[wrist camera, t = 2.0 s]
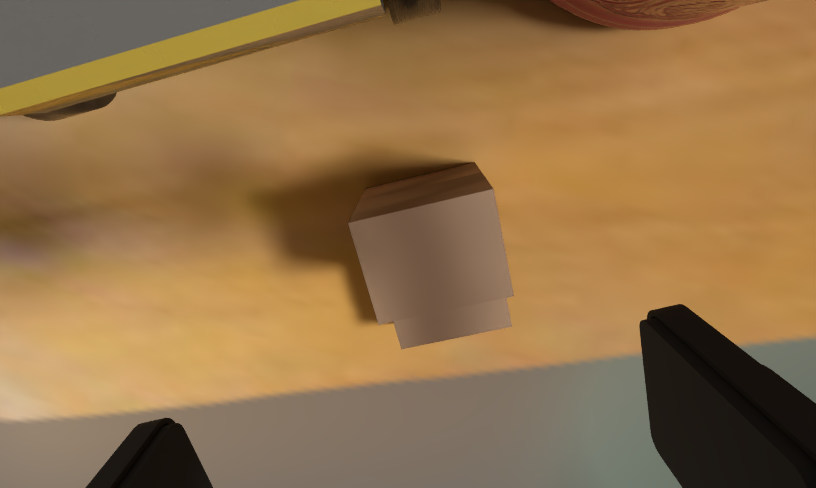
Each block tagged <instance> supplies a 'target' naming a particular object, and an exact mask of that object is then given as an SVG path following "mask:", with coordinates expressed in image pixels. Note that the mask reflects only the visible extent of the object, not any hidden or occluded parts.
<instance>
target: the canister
mask: <svg viewBox="0 0 816 488" xmlns="http://www.w3.org/2000/svg"><path fill="white" fill-rule="evenodd" d="M548 1H550V2H551V3H553V4H554V5H556V6H557V7H559V8H561V9H563V10H564V11H566V12H568V13H571V14H573V15H575V16H577V17H580V18H583V19H585V20H588V21H591V22H594V23H597V24H601V25H604V26H608V27H614V28H620V29H628V30H657V29H667V28H673V27H678V26H683V25H689V24H694V23H698V22H701V21H705V20H709V19H712V18H715V17H717V16H720V15H723V14H726V13H728V12H730V11H733V10H735V9H737V8H739V7H741V6H746V5H750V4H754V3H758V2H763V1H767V0H548Z"/></svg>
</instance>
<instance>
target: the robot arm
mask: <svg viewBox="0 0 816 488" xmlns="http://www.w3.org/2000/svg"><path fill="white" fill-rule="evenodd" d="M640 337H641V346H642V355H643V365H644V374H645V383H646V392H647V401H648V410H649V420H650V429H651V436H652V439H653V442H654V445H655V447H656V449H657V451H658V453H659V454H660V456H661V457H662V459H663V460H664V462H665V463H666V465H667V466H668V467H669V469H670V470H671V472H672V473H673V475H674V476H675V477H676V478H677V480H678V482H679V483H680V485H681V486H682V488H816V403H814V402H813V401H811V400H810V399H809V398H808V397H806V396H805V395H804V394H802V393H801V392H800V391H798V390H797V389H796V388H794V387H793V386H792V385H791V384H789V383H788V382H787V381H785V380H784V379H783V378H781V377H780V376H779V375H778V374H776V373H775V372H774V371H772V370H771V369H769V368H767V367H766V366H764V365H761V364H760V363H759V362H757V361H756V360H755V359H753V358H752V357H751V356H750V355H748V354H747V353H746V352H744V351H743V350H742V349H740V348H739V347H738V346H737V345H735V344H734V343H733V342H731V341H730V340H729V339H727V338H726V337H725V336H724V335H722V334H721V333H720V332H718V331H717V330H716V329H715V328H713V327H712V326H711V325H709V324H708V323H707V322H705V321H704V320H703V319H702V318H700V317H699V316H698V315H696V314H695V313H694V312H692V311H691V310H690V309H689V308H687V307H686V306H684V305H682V304H678V305H673V306H669V307H664V308H660V309H655V310H651V311H649V312H648V315H647V319H646V320H642V321H641V322H640ZM86 488H213V487H212V484H211V482H210V480H209V478H208V476H207V475H206V472H205V470H204V469H203V466H202V464H201V462H200V460H199V458H198V456H197V454H196V452H195V450H194V448H193V446H192V444H191V442H190V440H189V438H188V436H187V434H186V432H185V430H184V428H183V427H182V425H180V424H179V423H175V422H174V421H173V420H172V419H170V418H163V419H159V420H154V421H150V422H145V423H141V424H138V425H137V426H136V427H135V428H134V429H133V430H132V431H131V433H130V434H129V435H128V436H127V438H126V439H125V440H124V441H123V442H122V444H121V445H120V446H119V447H118V449H117V450H116V451H115V452H114V454H113V455H112V456H111V457H110V458H109V460H108V461H107V462H106V463H105V465H104V466H103V467H102V468H101V469H100V471H99V472H98V473H97V474H96V476H95V477H94V478H93V479H92V481H91V482H90V483H89V484H88V486H87V487H86Z"/></svg>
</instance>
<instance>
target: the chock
mask: <svg viewBox="0 0 816 488" xmlns="http://www.w3.org/2000/svg"><path fill="white" fill-rule="evenodd" d="M348 225H349V229H350V232H351V235H352V238H353V242H354V245H355V248H356V252H357V255H358V258H359V262H360V265H361V268H362V271H363V275H364V278H365V281H366V285H367V288H368V291H369V295H370V298H371V301H372V304H373V308H374V311H375V314H376V318H377V321H378V324H379V325H380V324H385V323H389V322H394V325H395V329H396V332H397V336H398V339H399V343H400V346H401V349H405V348H410V347H415V346H420V345H424V344H429V343H434V342H439V341H444V340H449V339H454V338H459V337H463V336H468V335H473V334H478V333H483V332H488V331H493V330H498V329H502V328H507V327H512V324H511V319H510V314H509V309H508V304H507V299H506V298H507V297H512V296H514V294H513V289H512V284H511V278H510V273H509V268H508V263H507V257H506V252H505V247H504V242H503V236H502V231H501V226H500V221H499V215H498V210H497V205H496V200H495V195H494V189H493V188H492V186H491V185H490V183H489V182H488V181H487V179H486V178H485V176H484V175H483V174H482V172H481V171H480V169H479V168H478V167H477V165H476V164H475V162H474V163H469V164H465V165H461V166H457V167H453V168H449V169H445V170H440V171H436V172H432V173H428V174H424V175H420V176H416V177H412V178H407V179H403V180H399V181H395V182H391V183H387V184H383V185H379V186H374V187H370V188H366V189H365V190H364V192H363V194H362V196H361V198H360V200H359V202H358V204H357V206H356V208H355V210H354V212H353V214H352V216H351V218H350V220H349V222H348Z"/></svg>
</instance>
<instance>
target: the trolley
mask: <svg viewBox="0 0 816 488" xmlns="http://www.w3.org/2000/svg"><path fill="white" fill-rule="evenodd" d="M387 2H388V6H389V10H390V13H391V17H392V20H393V23H394V25H396V24H399V23H403V22H406V21H410V20H413V19H417V18H420V17H424V16H428V15H431V14H435V13H438V12H440V9H441V2H440V0H387ZM385 15H386V12H385V8H384V4H383V0H0V116H12V115H24V116H27V117H30V118H34V119H38V120H45V121H55V120H60V119H64V118H67V117H71V116H75V115H78V114H82V113H85V112H89V111H92V110H96V109H99V108H102V107H104V106H106V105H108V104H109V103H110V102H111V101H112V100H113V99H114V97H115V96H116V93H117V92H119V91H123V90H126V89H130V88H133V87H137V86H140V85H144V84H147V83H151V82H154V81H158V80H161V79H165V78H168V77H172V76H175V75H179V74H182V73H186V72H189V71H193V70H196V69H200V68H203V67H207V66H210V65H214V64H217V63H221V62H224V61H228V60H231V59H235V58H238V57H242V56H245V55H249V54H252V53H256V52H259V51H263V50H266V49H270V48H273V47H277V46H280V45H284V44H287V43H291V42H294V41H298V40H301V39H305V38H308V37H312V36H315V35H319V34H322V33H326V32H329V31H333V30H336V29H340V28H343V27H347V26H350V25H354V24H357V23H361V22H364V21H368V20H371V19H375V18H378V17H382V16H385Z"/></svg>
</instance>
